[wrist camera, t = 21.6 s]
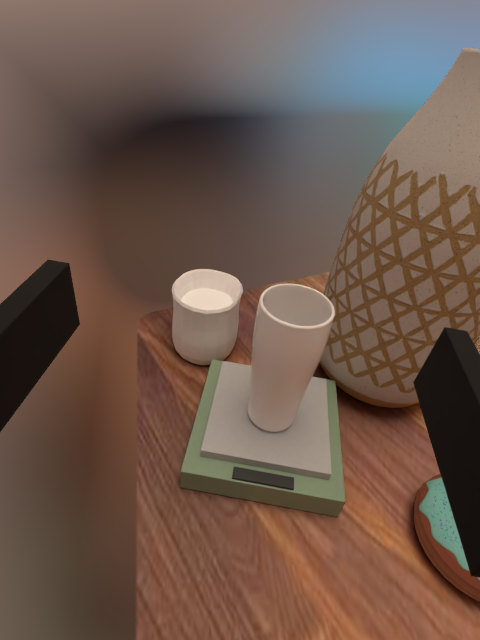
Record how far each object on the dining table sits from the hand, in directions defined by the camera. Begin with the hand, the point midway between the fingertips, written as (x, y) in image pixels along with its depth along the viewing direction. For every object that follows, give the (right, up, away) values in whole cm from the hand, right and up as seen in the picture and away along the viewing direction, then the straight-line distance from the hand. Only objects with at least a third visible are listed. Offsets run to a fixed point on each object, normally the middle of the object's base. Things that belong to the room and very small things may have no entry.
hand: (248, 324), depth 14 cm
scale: (+3, -13, +32) cm, 34 cm away
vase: (+18, -7, +42) cm, 47 cm away
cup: (-5, -3, +43) cm, 44 cm away
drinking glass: (+3, -10, +29) cm, 31 cm away
